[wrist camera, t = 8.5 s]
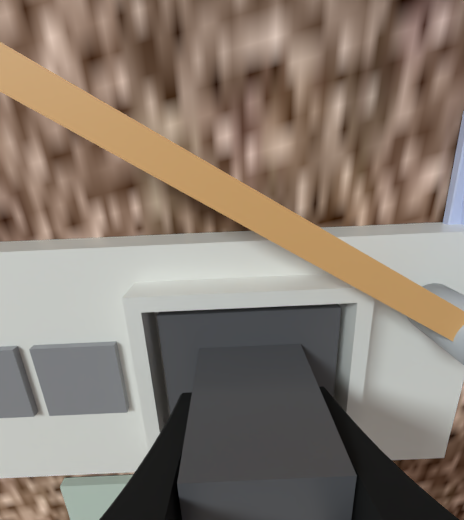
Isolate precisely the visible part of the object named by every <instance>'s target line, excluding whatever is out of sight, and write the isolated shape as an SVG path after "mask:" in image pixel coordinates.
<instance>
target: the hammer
mask: <svg viewBox="0 0 464 520" xmlns="http://www.w3.org/2000/svg"><path fill="white" fill-rule="evenodd" d="M0 92H2V93H4V94H6V95H7V96H9V97H11V98H13V99H15V100H16V101H18V102H20V103H22V104H24V105H25V106H27V107H29V108H31V109H33V110H35V111H36V112H38V113H40V114H42V115H44V116H45V117H47V118H49V119H51V120H53V121H54V122H56V123H58V124H60V125H62V126H63V127H65V128H67V129H69V130H71V131H73V132H74V133H76V134H78V135H80V136H82V137H83V138H85V139H87V140H89V141H91V142H92V143H94V144H96V145H98V146H100V147H102V148H103V149H105V150H107V151H109V152H111V153H112V154H114V155H116V156H118V157H120V158H121V159H123V160H125V161H127V162H129V163H131V164H132V165H134V166H136V167H138V168H140V169H141V170H143V171H145V172H147V173H149V174H150V175H152V176H154V177H156V178H158V179H159V180H161V181H163V182H165V183H167V184H169V185H170V186H172V187H174V188H176V189H178V190H179V191H181V192H183V193H185V194H187V195H188V196H190V197H192V198H194V199H196V200H198V201H199V202H201V203H203V204H205V205H207V206H208V207H210V208H212V209H214V210H216V211H217V212H219V213H221V214H223V215H225V216H226V217H228V218H230V219H232V220H234V221H236V222H237V223H239V224H241V225H243V226H245V227H246V228H248V229H250V230H252V231H254V232H255V233H257V234H259V235H261V236H263V237H265V238H266V239H268V240H270V241H272V242H274V243H275V244H277V245H279V246H281V247H283V248H284V249H286V250H288V251H290V252H292V253H293V254H295V255H297V256H299V257H301V258H303V259H304V260H306V261H308V262H310V263H312V264H313V265H315V266H317V267H319V268H321V269H322V270H324V271H326V272H328V273H330V274H332V275H333V276H335V277H337V278H339V279H341V280H342V281H344V282H346V283H348V284H350V285H351V286H353V287H355V288H357V289H359V290H361V291H362V292H364V293H366V294H368V295H370V296H371V297H373V298H375V299H377V300H379V301H380V302H382V303H384V304H386V305H388V306H389V307H391V308H393V309H395V310H397V311H399V312H400V313H402V314H404V315H406V316H407V318H408V320H409V321H410V322H411V323H412V324H413V325H414V326H416V327H417V328H418V329H419V330H421V331H422V332H423V333H424V334H426V335H427V336H428V337H429V338H430V339H432V340H433V341H434V342H435V343H437V344H438V345H439V346H440V347H442V348H443V349H444V350H445V351H447V352H448V353H449V354H450V355H451V356H453V357H454V358H455V359H456V360H458V361H459V362H460V363H461V364H463V365H464V295H463V294H461V293H459V292H457V291H455V290H453V289H451V288H449V287H447V286H445V285H443V284H438V283H432V284H427V285H424V286H420V285H418V284H416V283H415V282H413V281H411V280H409V279H408V278H406V277H404V276H403V275H401V274H399V273H397V272H396V271H394V270H392V269H390V268H389V267H387V266H385V265H384V264H382V263H380V262H378V261H377V260H375V259H373V258H372V257H370V256H368V255H366V254H365V253H363V252H361V251H359V250H358V249H356V248H354V247H353V246H351V245H349V244H347V243H346V242H344V241H342V240H341V239H339V238H337V237H335V236H334V235H332V234H330V233H328V232H327V231H325V230H323V229H322V228H320V227H318V226H316V225H315V224H313V223H311V222H309V221H308V220H306V219H304V218H303V217H301V216H299V215H297V214H296V213H294V212H292V211H291V210H289V209H287V208H285V207H284V206H282V205H280V204H278V203H277V202H275V201H273V200H272V199H270V198H268V197H266V196H265V195H263V194H261V193H259V192H258V191H256V190H254V189H253V188H251V187H249V186H247V185H246V184H244V183H242V182H241V181H239V180H237V179H235V178H234V177H232V176H230V175H228V174H227V173H225V172H223V171H222V170H220V169H218V168H216V167H215V166H213V165H211V164H209V163H208V162H206V161H204V160H203V159H201V158H199V157H197V156H196V155H194V154H192V153H191V152H189V151H187V150H185V149H184V148H182V147H180V146H178V145H177V144H175V143H173V142H172V141H170V140H168V139H166V138H165V137H163V136H161V135H159V134H158V133H156V132H154V131H153V130H151V129H149V128H147V127H146V126H144V125H142V124H141V123H139V122H137V121H135V120H134V119H132V118H130V117H128V116H127V115H125V114H123V113H122V112H120V111H118V110H116V109H115V108H113V107H111V106H109V105H108V104H106V103H104V102H103V101H101V100H99V99H97V98H96V97H94V96H92V95H91V94H89V93H87V92H85V91H84V90H82V89H80V88H78V87H77V86H75V85H73V84H72V83H70V82H68V81H66V80H65V79H63V78H61V77H59V76H58V75H56V74H54V73H53V72H51V71H49V70H47V69H46V68H44V67H42V66H41V65H39V64H37V63H35V62H34V61H32V60H30V59H28V58H27V57H25V56H23V55H22V54H20V53H18V52H16V51H15V50H13V49H11V48H9V47H8V46H6V45H4V44H3V43H1V42H0Z"/></svg>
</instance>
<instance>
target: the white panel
mask: <svg viewBox="0 0 464 520" xmlns="http://www.w3.org/2000/svg"><path fill="white" fill-rule="evenodd" d="M322 229H323V230H325V231H327V232H328V233H330V234H332V235H334V236H335V237H337V238H339V239H341V240H342V241H344V242H346V243H347V244H349V245H351V246H353V247H354V248H356V249H358V250H359V251H361V252H363V253H365V254H366V255H368V256H370V257H372V258H373V259H375V260H377V261H378V262H380V263H382V264H384V265H385V266H387V267H389V268H390V269H392V270H394V271H396V272H397V273H399V274H401V275H403V276H404V277H406V278H408V279H409V280H411V281H413V282H415V283H416V284H418V285H420V286H424V285H427V284H432V283H438V284H443V285H445V286H447V287H449V288H451V289H453V290H455V291H457V292H459V293H461V294H463V295H464V225H463V224H453V225H448V224H443V222H437V223H415V224H392V225H370V226H347V227H325V228H322ZM322 304H338V305H339V306H340V307H341V316H340V328H339V340H338V352H337V363H336V375H335V387H334V399H335V400H336V401H337V403H338V404H339V405H340V406H341V407H342V408H343V410H344V411H345V412H346V413H347V414H348V415H349V416H350V418H351V419H352V420H353V421H354V422H355V423H356V424H357V425H358V426H359V427H360V429H361V430H362V431H363V432H364V433H365V434H366V435H367V436H368V437H369V438H370V439H371V440H372V441H373V442H374V443H375V444H376V445H377V446H378V448H379V449H380V450H381V451H382V452H383V453H384V454H385V455H386V456H388V457H389V458H390V459H391V460H409V459H431V458H444V457H445V453H446V449H447V445H448V441H449V437H450V433H451V429H452V425H453V421H454V417H455V413H456V409H457V405H458V401H459V397H460V393H461V389H462V385H463V381H464V365H463V364H461V363H460V362H459V361H458V360H456V359H455V358H454V357H453V356H451V355H450V354H449V353H448V352H447V351H445V350H444V349H443V348H442V347H440V346H439V345H438V344H437V343H435V342H434V341H433V340H432V339H430V338H429V337H428V336H427V335H426V334H424V333H423V332H422V331H421V330H419V329H418V328H417V327H416V326H414V325H413V324H412V323H411V322H410V321H409V320H408V318H407V316H406V315H404V314H402V313H400V312H399V311H397V310H395V309H393V308H391V307H389V306H388V305H386V304H384V303H382V302H380V301H379V300H377V299H375V298H373V297H371V296H370V295H368V294H366V293H364V292H362V291H361V290H359V289H357V288H355V287H353V286H351V285H350V284H348V283H346V282H344V281H342V280H341V279H339V278H337V277H335V276H333V275H332V274H330V273H328V272H326V271H324V270H322V269H321V268H319V267H317V266H315V265H313V264H312V263H310V262H308V261H306V260H304V259H303V258H301V257H299V256H297V255H295V254H293V253H292V252H290V251H288V250H286V249H284V248H283V247H281V246H279V245H277V244H275V243H274V242H272V241H270V240H268V239H266V238H265V237H263V236H261V235H259V234H257V233H255V232H254V231H235V232H212V233H190V234H167V235H145V236H122V237H100V238H77V239H55V240H32V241H10V242H0V478H15V477H37V476H59V475H81V474H103V473H125V472H135V471H136V470H137V468H138V467H139V465H140V464H141V462H142V461H143V459H144V458H145V456H146V455H147V453H148V452H149V450H150V449H151V447H152V446H153V444H154V442H155V441H156V439H157V437H158V436H159V434H160V432H161V431H162V429H163V427H164V425H165V424H166V422H167V420H168V418H169V416H170V408H169V401H168V394H167V387H166V379H165V372H164V365H163V358H162V350H161V343H160V336H159V329H158V321H157V314H158V312H166V311H189V310H211V309H233V308H255V307H278V306H300V305H322Z"/></svg>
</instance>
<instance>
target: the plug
mask: <svg viewBox="0 0 464 520" xmlns="http://www.w3.org/2000/svg"><path fill="white" fill-rule="evenodd" d="M340 316H341V307H340V306H339V305H338V304H322V305H300V306H278V307H255V308H233V309H211V310H189V311H166V312H158V314H157V321H158V329H159V336H160V343H161V350H162V358H163V365H164V372H165V379H166V387H167V394H168V401H169V408H170V415H171V413H172V411H173V409H174V407H175V405H176V403H177V401H178V399H179V397H180V395H181V394H182V393H188V392H192V396H191V402H190V408H189V414H188V420H187V426H186V432H185V438H184V444H183V450H182V456H181V463H180V469H179V475H178V481H177V487H178V494H179V501H180V508H181V515H182V520H351V517H352V510H353V502H354V494H355V486H356V478H357V475H356V473H355V470H354V468H353V465H352V463H351V461H350V458H349V456H348V454H347V451H346V449H345V447H344V444H343V442H342V440H341V437H340V435H339V433H338V430H337V428H336V426H335V423H334V421H333V419H332V416H331V414H330V412H329V409H328V407H327V405H326V402H325V400H324V398H323V395H322V393H321V391H320V388H319V387H322V386H324V387H325V388H326V389H327V391H328V392H329V393H330V394H331V395H332V397H333V398H334V387H335V375H336V363H337V352H338V340H339V328H340Z"/></svg>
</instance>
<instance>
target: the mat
mask: <svg viewBox="0 0 464 520" xmlns="http://www.w3.org/2000/svg"><path fill="white" fill-rule="evenodd" d="M132 476H133V475H117V476H95V477H73V478H64V480H63V482H62V484H61V486H60V488H61V491H62V495H63V498H64V501H65V504H66V507H67V510H68V513H69V516H70V520H99V519H100V518H101V517H102V515H103V514H104V513H105V512H106V511H107V509H108V508H109V507H110V505H111V504H112V503H113V502H114V500H115V499H116V498H117V496H118V495H119V494H120V492H121V491H122V490H123V488H124V487H125V486H126V484H127V483H128V481H129V480H130V479H131V477H132Z"/></svg>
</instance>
